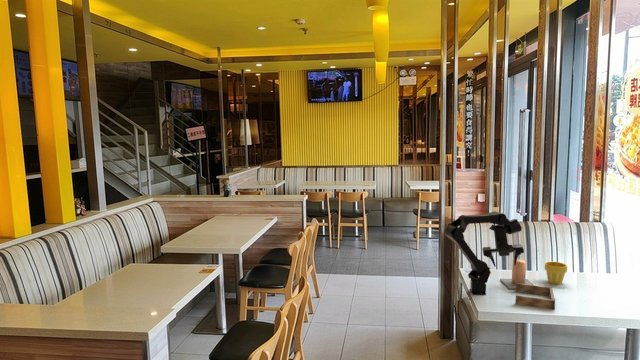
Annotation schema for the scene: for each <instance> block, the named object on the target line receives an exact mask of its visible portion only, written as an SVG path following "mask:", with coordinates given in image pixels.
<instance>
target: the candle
mask: <svg viewBox="0 0 640 360" xmlns="http://www.w3.org/2000/svg"><path fill="white" fill-rule="evenodd" d="M511 265H512V266H511V279H512V283H513V284H515V285H516V283H520V284H525V279H526V272H527V271H526V270H527V261H526V260H525V259H520V258H517V261H516V265H515V266H514V258H513V259H512V264H511Z"/></svg>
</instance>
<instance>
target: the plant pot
mask: <svg viewBox="0 0 640 360" xmlns="http://www.w3.org/2000/svg"><path fill="white" fill-rule="evenodd" d="M544 269H545V272H546V277H547V281H548V282H549V284H550V283H551V284H555V285H561V284H562V283H563V281H564V279H565V278H564V277H565V275H566V273H567V272H568V265H567V264H566V263H564V262H559V261H545V263H544Z"/></svg>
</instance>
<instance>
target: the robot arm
mask: <svg viewBox="0 0 640 360" xmlns="http://www.w3.org/2000/svg"><path fill="white" fill-rule="evenodd" d="M520 223H521V222H519V221H518V219H517V218H512V219H511V220H509V219H508V218H507V215H506V214H505V213H502V212H499V211H491V212H488V213H484V214H468V215H467V214H466V215H465V214H461V215H460V216H459V217H458V218H456V219H455V220H453V221H451V222H450V224H448V225H447V226H446V227H445V228H444V235H445V236H446V237H447V238H448V239H449V240H451V242H454V243H455V245H456V246H457V247H458V249H459V250H460V252H461V253H462V254H463V256H464V257H465V259H466V260H467V261H468V262H469V264H470V269H471V271H469V273H468V274H467V276H468V278H469V279H470V285H469V286H470V288H469V291H470V294H471V295H480V296H481V295H486V296H487V283H488V280H489V278H490V275H491V270H490V269H491V268H490V267H489V265H488V264H487V262H485V261H483V260H481V259H478V257H477V255H476V253H474V251H473V249H471V247H470V245H468V243H467V242H466V240H465V235H464V233H465V232H466V230H467V227H468V226H469V224H491V226H490V227H489V230H491V231H493V234H494V235H493V236H494V241H495V242H494V243H495V248H492V247H491V246H485V247H484V246H483V247H482V254H483V256H484V257H486V258H489V260H490V261H491V262H492V264H493V266H494V268H496V263H495V259H494V255H493V254H495V253H498V256H499V257H505V256H507V257H508V256H510V255H511V254H510V253H513V259H514V266H515V265H516V261H517V259H519V258H518V257H519V256H521V255H522V254H524V253H525V250H524V249H525V248H524V246H523V245H522V244H521V243H519V244H516V243H515V244H509V242H508V241H509V240H508V235H513V234H514V235H515V234H516V233H521V231H522V225H521V224H520Z"/></svg>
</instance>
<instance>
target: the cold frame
mask: <svg viewBox="0 0 640 360" xmlns="http://www.w3.org/2000/svg"><path fill="white" fill-rule="evenodd" d="M515 292H517V293H524V294H525V293H526V294H531V295H532V294H534V295H538V296H539V295H541V296H548V297H549V298H543V297H542V298H541V297H533V296H527V295H520V294H515V302H514V303H515V305H517V306H518V305H519V306H526V307H534V308H540V309H541V308H542V309H548V310H556V309H555V308H556V307H555V306H556V301H555V294H554V289H553V286H543V285H536V284H534V285H529V284H520V283H516V290H515Z"/></svg>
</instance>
